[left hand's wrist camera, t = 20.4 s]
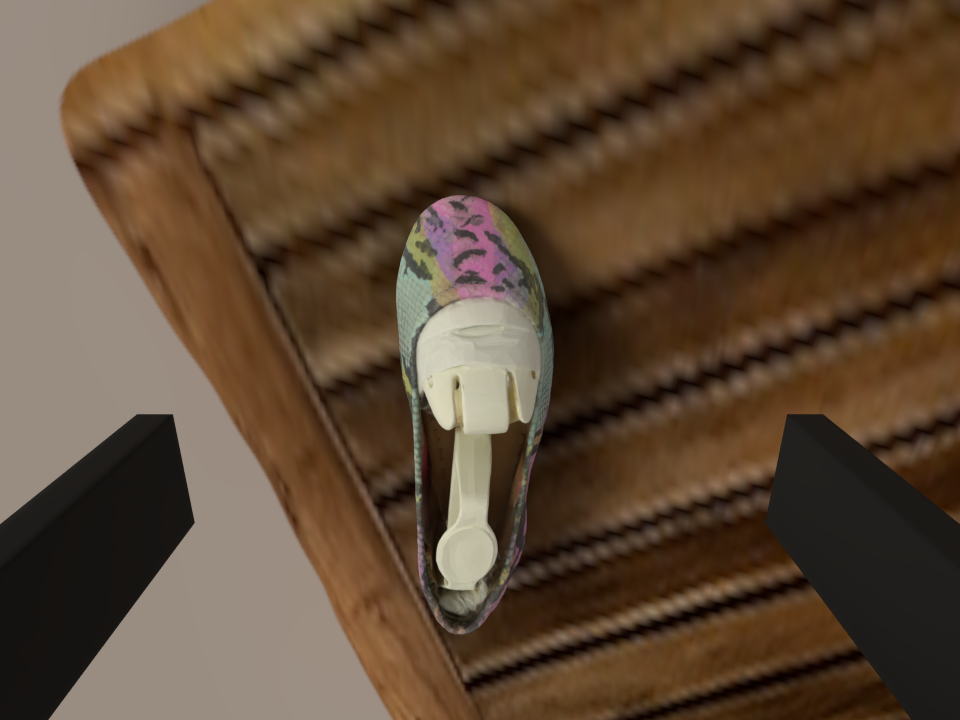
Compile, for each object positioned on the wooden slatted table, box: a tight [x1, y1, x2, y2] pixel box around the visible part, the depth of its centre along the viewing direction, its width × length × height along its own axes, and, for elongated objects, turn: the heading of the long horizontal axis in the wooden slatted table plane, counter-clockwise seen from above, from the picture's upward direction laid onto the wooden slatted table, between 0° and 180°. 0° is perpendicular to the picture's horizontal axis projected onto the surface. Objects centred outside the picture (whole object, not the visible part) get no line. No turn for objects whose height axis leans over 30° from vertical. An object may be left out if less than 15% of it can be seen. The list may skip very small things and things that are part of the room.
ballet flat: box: [396, 195, 554, 634], centre depth 31 cm, size 8×24×9 cm, turn 179°
